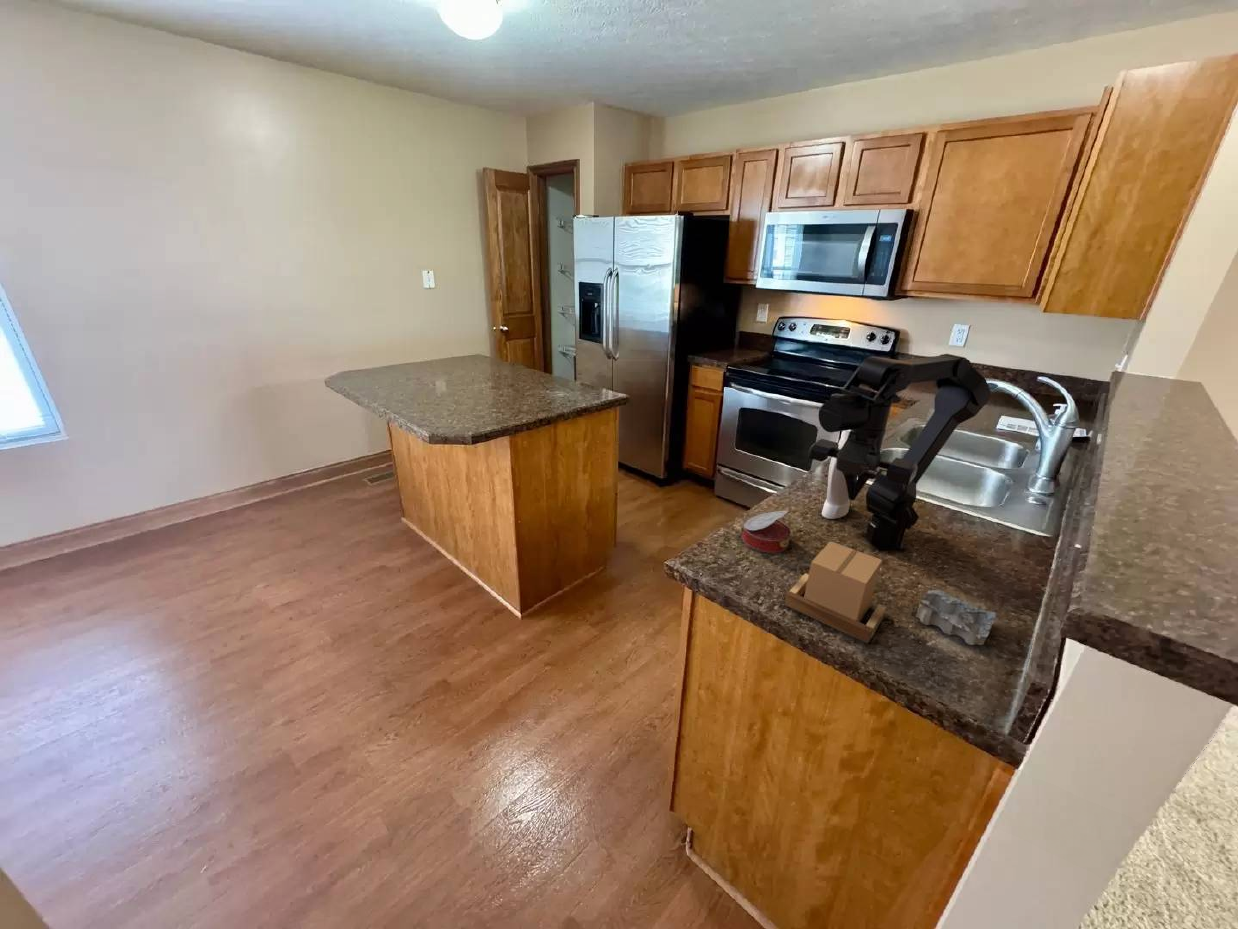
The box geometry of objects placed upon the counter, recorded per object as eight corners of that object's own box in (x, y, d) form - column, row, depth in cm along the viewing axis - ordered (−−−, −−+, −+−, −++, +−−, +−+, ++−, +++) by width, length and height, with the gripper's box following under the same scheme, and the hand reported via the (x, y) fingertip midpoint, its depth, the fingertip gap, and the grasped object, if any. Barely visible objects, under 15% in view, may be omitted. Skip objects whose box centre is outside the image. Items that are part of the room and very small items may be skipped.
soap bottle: (827, 496, 132) (846, 405, 123) (857, 507, 127) (879, 413, 117) (802, 512, 124) (820, 416, 114) (833, 524, 119) (855, 425, 109)
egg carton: (910, 618, 90) (916, 599, 88) (925, 600, 94) (931, 582, 93) (980, 652, 83) (988, 632, 81) (993, 630, 87) (1000, 611, 86)
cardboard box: (820, 585, 98) (830, 540, 94) (869, 606, 92) (882, 559, 88) (801, 608, 91) (811, 561, 87) (853, 632, 86) (866, 583, 82)
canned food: (759, 570, 110) (746, 539, 104) (741, 541, 118) (727, 511, 113) (807, 547, 109) (796, 514, 104) (785, 519, 117) (774, 488, 112)
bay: (803, 583, 98) (805, 573, 97) (882, 618, 90) (886, 606, 89) (784, 605, 92) (786, 594, 91) (867, 644, 84) (871, 632, 83)
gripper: (803, 424, 96) (790, 498, 102) (912, 450, 85) (890, 531, 91) (825, 411, 104) (812, 480, 110) (927, 433, 93) (906, 509, 99)
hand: (851, 499), depth 103 cm, fingers closed
